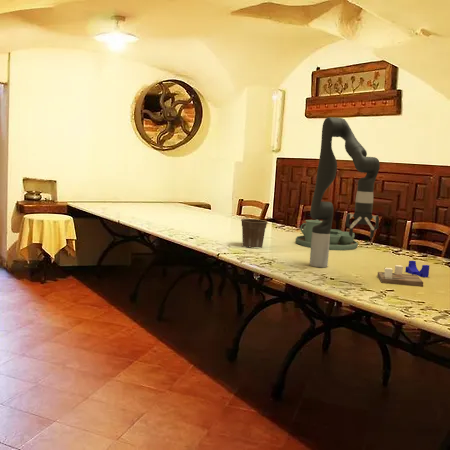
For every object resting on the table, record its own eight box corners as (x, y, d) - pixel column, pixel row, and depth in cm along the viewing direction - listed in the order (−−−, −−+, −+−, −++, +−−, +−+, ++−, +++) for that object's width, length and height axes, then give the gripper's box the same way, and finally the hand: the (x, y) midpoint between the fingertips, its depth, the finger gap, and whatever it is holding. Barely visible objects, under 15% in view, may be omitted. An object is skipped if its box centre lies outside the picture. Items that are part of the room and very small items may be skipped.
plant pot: (271, 248, 312) (273, 221, 310) (251, 249, 302) (252, 222, 300) (254, 243, 325) (255, 218, 323) (234, 245, 315) (235, 219, 313)
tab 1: (384, 276, 238) (384, 267, 238) (390, 276, 238) (391, 268, 237) (385, 277, 235) (385, 268, 235) (391, 278, 235) (392, 269, 234)
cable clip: (405, 272, 262) (406, 260, 262) (412, 272, 264) (413, 260, 263) (420, 277, 251) (421, 265, 250) (428, 277, 252) (429, 265, 252)
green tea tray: (354, 253, 312) (357, 226, 310) (289, 246, 325) (291, 220, 323) (359, 244, 350) (361, 220, 347) (301, 238, 362) (302, 215, 360)
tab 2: (394, 273, 246) (395, 265, 245) (400, 273, 245) (401, 265, 245) (395, 274, 243) (396, 266, 242) (402, 275, 243) (402, 266, 242)
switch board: (377, 275, 249) (377, 271, 249) (416, 279, 246) (416, 274, 246) (381, 282, 234) (382, 278, 234) (422, 286, 231) (423, 281, 231)
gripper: (379, 202, 232) (376, 237, 234) (347, 200, 235) (344, 235, 237) (381, 203, 225) (378, 240, 227) (348, 201, 228) (345, 237, 230)
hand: (360, 237), depth 232 cm, fingers open, 8 cm apart
